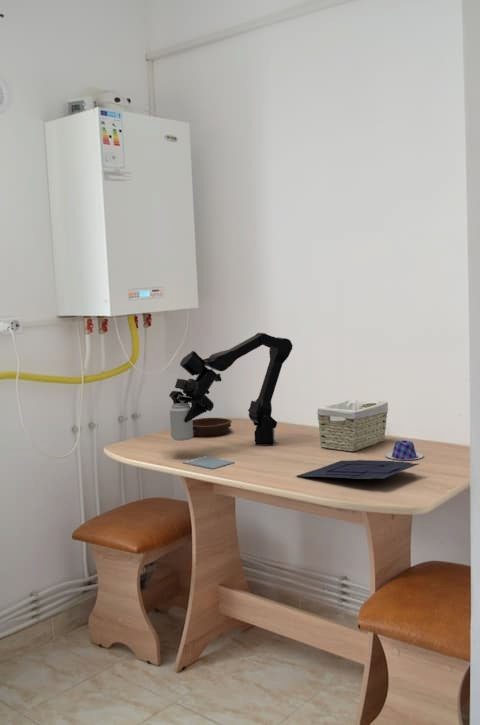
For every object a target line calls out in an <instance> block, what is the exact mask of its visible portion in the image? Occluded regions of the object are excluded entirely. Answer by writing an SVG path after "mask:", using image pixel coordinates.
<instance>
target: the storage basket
mask: <svg viewBox="0 0 480 725" xmlns="http://www.w3.org/2000/svg"><path fill="white" fill-rule="evenodd" d="M388 412H389V403H388V401H386V400H385V401H384V400H382V401H381V400H372V399H359V398H358V399H357V398H352V399H345V400H341V401H340V400H339V401H337V402H333V403H327V404H324V405H322V406H321V405H320V406H319V407H318V408H317V421H318V422H317V423H318V427H319V428H318V430H319V442H320V444H319V445H320V447H321V448H325V449H331V450H338V451H345V452H356V451H359V450H362V449H365V448H367V447H371V446H375V445H376V444H379V443H381V442H384V441H386V440H385V439H386V431H387V430H386V429H387V418H388Z"/></svg>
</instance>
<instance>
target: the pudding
mask: <svg viewBox="0 0 480 725" xmlns="http://www.w3.org/2000/svg"><path fill="white" fill-rule="evenodd" d="M385 456H386V457H387V458H389V459H392V460H398V461H413V460H419V459H421V458H423V457H424V455H423V454H422V453H421V452H417V451H416V449H415V445H414V442H413V441H411V440H402V439H401V440H397V441H395V442H394V445H393V449H392V451H390V452H388V453H386V454H385ZM417 456H418V458H417Z"/></svg>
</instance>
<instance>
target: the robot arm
mask: <svg viewBox="0 0 480 725" xmlns="http://www.w3.org/2000/svg"><path fill="white" fill-rule="evenodd" d="M261 346H264V347H267V348H269V363H268V366H267V368H266V371H265V375H264V378H263V381H262V385H261V388H260V392H259V394H258V397H257V399H256V400H251V401H250V407H249V409H247V412H248V418H249V419H250V420H251V421H252V423H253V425H254V426H255V430H254V444H255V446H274V444H275V443H276V440H275V429H276V428H277V426H278V425H277V424H278V421H276V420H275V419H274V418H273V416H272V413H273V412H272V411H273V410H272V409H273V407H272V401H273V400H272V399H273V396H274V393H275V389H276V386H277V383H278V381H279V380H278V379H279V377H280V373H281V370H282V368H283V364H284V363H285V361H286V360H287V359H288V358H289V356H290V354H291V352H292V350H293V346H294V345H293V343H292V341H291V340H290V339H288V338H285V337H279V336H278V337H275V336H272V335H269V334H267V333H265V332H257V333H256V334H255V335H253V336H251V337H249V338H247V339H245V340H244V341H242V342H240V343H239V344H237V345H235V346H233V347H231V348H228V349H225V350H221V351H218V352H214V353H213V354H211V355H210V356H209V357H208V358H204V359H203V358H202V357H201V356H200V355H198V353H197V352H196V351H194V350H191V352H190V353H188V354H186V356H184V357H183V358H182V359H181V361H180V364H179V365H180V367H182V369H184V370H185V371H186V372H187V373H189V375H191V376H193V377H194V376H197V377H196V378H195V379H194V378H188V379H183V378H176V383H175V385H174V388H175V389H180V390H172V391H170V393H169V394H168V396H169V397H170V398H171V400H172V402H173V404H177V403H188V404H190V407H191V408H190V410H189V412H188V414H187V415H186V417H185V419H184V422H186V423H187V422H188V421H190V420H194V419H196V418H197V417H198V416H200V415H202V414H204V413H207V412H212V411H213V409H214V407H215V406H214V405H215V404H214V402H213V401H212V400H211V399H210V398H209V396H207V395H210V390H209V389H210V388H211V387H212V385H213V383H214V382H216V383H217V382H218V383H219V382H222V377H221V373H216V372H215V371H217V372H225V371H226V370H228V369H229V368H230V367H232V365H233V364H234V363H235V361H237V360H238V359H240V358H241V357H244V356H245V355H247V354H249V353H251V352H252V351H254V350H256V349H258V348H260V347H261ZM208 367H209V368H210V369H209V368H208Z"/></svg>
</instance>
